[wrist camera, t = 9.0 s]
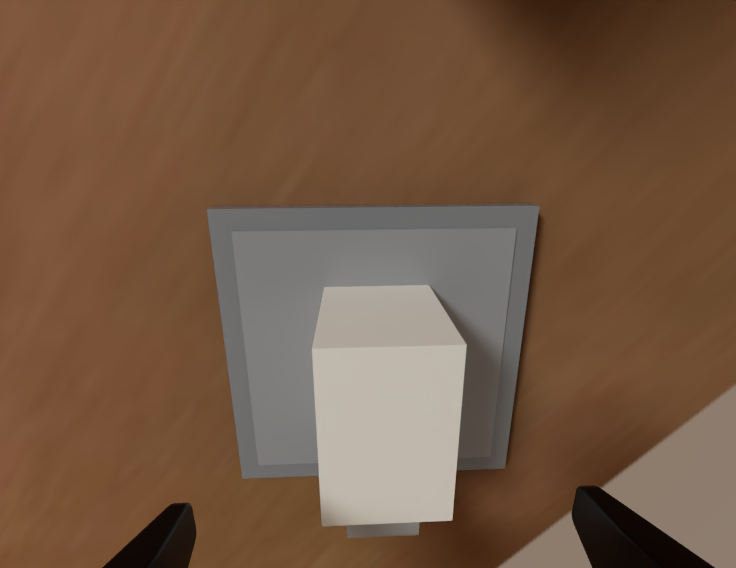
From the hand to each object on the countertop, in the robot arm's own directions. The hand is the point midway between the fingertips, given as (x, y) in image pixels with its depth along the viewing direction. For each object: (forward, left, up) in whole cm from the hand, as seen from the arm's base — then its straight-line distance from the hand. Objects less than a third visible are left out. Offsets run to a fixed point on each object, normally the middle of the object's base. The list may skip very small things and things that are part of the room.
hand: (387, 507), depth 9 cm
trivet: (0, 0, -8) cm, 8 cm away
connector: (0, +1, -7) cm, 7 cm away
